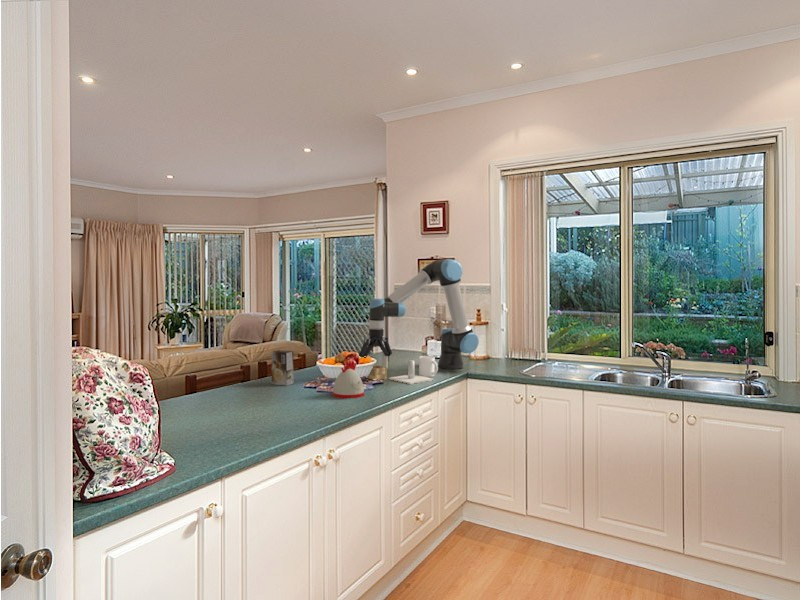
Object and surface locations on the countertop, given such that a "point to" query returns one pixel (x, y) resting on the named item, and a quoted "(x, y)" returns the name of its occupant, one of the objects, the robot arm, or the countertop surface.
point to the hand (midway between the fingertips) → (375, 369)
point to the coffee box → (282, 367)
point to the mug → (427, 366)
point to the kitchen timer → (348, 383)
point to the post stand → (411, 375)
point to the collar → (378, 372)
